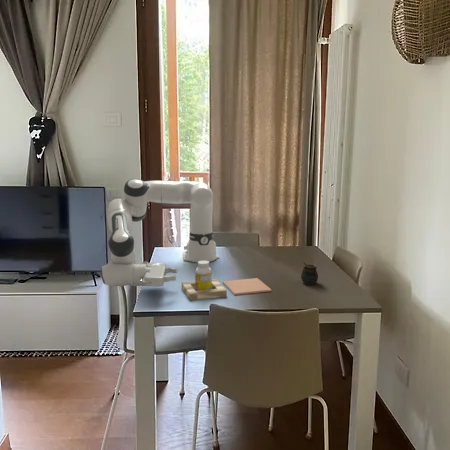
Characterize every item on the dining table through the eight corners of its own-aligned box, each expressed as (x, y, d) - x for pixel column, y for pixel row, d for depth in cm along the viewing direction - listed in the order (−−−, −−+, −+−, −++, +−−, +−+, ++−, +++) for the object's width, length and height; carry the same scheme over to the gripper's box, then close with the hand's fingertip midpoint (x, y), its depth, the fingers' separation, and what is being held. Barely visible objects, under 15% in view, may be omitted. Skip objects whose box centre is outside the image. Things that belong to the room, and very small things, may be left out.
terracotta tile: (222, 283, 205) (222, 281, 204) (257, 279, 209) (257, 278, 209) (234, 295, 190) (234, 293, 190) (271, 291, 194) (271, 289, 194)
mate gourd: (321, 283, 205) (322, 261, 203) (311, 287, 200) (312, 264, 198) (307, 279, 210) (308, 257, 208) (297, 283, 205) (298, 261, 203)
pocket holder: (181, 288, 198) (181, 282, 197) (215, 284, 202) (216, 279, 202) (189, 300, 184) (189, 294, 183) (226, 296, 188) (226, 290, 188)
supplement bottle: (195, 289, 196) (195, 259, 193) (211, 289, 197) (211, 259, 194) (195, 295, 189) (195, 264, 187) (212, 294, 190) (212, 264, 187)
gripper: (138, 275, 179) (175, 274, 180) (144, 260, 199) (177, 260, 200) (139, 291, 180) (175, 290, 181) (144, 274, 200) (177, 274, 201)
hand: (176, 274), depth 191 cm, fingers open, 8 cm apart
